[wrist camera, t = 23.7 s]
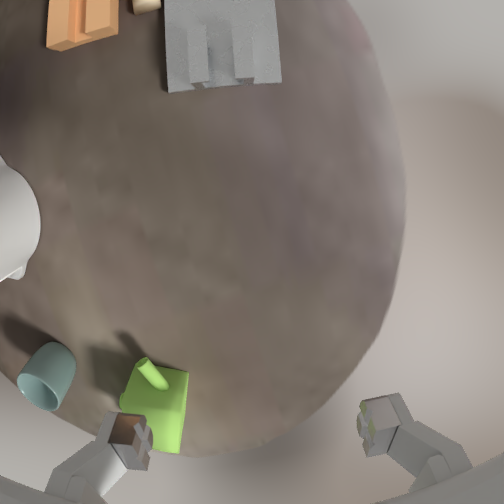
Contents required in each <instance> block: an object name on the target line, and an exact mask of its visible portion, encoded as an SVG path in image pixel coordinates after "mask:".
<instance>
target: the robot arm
mask: <svg viewBox="0 0 504 504" xmlns="http://www.w3.org/2000/svg"><path fill="white" fill-rule="evenodd" d="M39 236H40V214H39V208H38V204H37V201H36V198H35V196H34V193H33V191H32V189H31V187H30V186H29V184H28V183H27V181H26V180H25V179H24V178H23V177H22V176H21V175H20V174H19V173H18V172H17V171H15V170H13V169H12V168H10V167H9V166H7V165H6V163H5V162H4V160H3V159H2V157H1V156H0V282H1V281H2V280H4V279H5V278H12V279H20V278H22V277H23V276H24V274H25V271H26V265H27V261H28V260H29V258H30V257H31V255H32V254H33V253H34V251H35V249H36V247H37V244H38V241H39ZM360 409H361V412H360V413H359V414H358V416H357V429H358V433H359V436H360V437H362V438H363V439H364V441H363V448H364V451H365V454H366V457H372V456H376V455H381V454H385V453H387V455H389V456H390V457H391V458H392V459H394V460H395V461H396V462H397V463H399V464H400V465H401V466H402V467H403V468H405V469H406V470H407V471H408V472H410V473H411V474H412V475H414V476H415V477H416V480H415V481H414V483H413V484H412V486H411V487H410V489H409V493H407V494H404V495H401V496H398V497H395V498H391V499H388V500H384V501H380V502H376V503H372V504H504V452H503V453H501V454H500V455H498V456H496V457H494V458H492V459H490V460H488V461H486V462H484V463H482V464H480V465H478V466H476V467H474V468H473V466H472V464H471V463H470V461H469V459H468V457H467V455H466V453H465V451H464V449H463V447H462V446H461V445H460V444H458V443H456V442H454V441H453V440H451V439H449V438H447V437H445V436H444V435H442V434H440V433H438V432H436V431H435V430H433V429H431V428H429V427H428V426H426V425H424V424H422V423H421V422H419V421H415V422H414V420H413V418H412V416H411V414H410V412H409V410H408V408H407V406H406V404H405V402H404V400H403V398H402V397H401V395H400V394H399V393H395V394H390V395H386V396H381V397H376V398H371V399H366V400H362V401H361V403H360ZM146 423H147V419H146V417H145V415H141V414H130V413H121V412H111V411H108V412H107V413H106V414H105V417H104V419H103V422H102V424H101V427H100V429H99V432H98V435H97V437H96V440H95V441H91V442H90V443H89V444H87V445H86V446H84V447H83V448H82V449H81V450H79V451H78V452H76V453H75V454H74V455H73V456H71V457H70V458H68V459H67V460H66V461H64V462H63V463H61V464H60V465H59V466H57V467H56V468H54V469H53V472H52V474H51V477H50V479H49V482H48V484H47V487H46V489H45V492H42V491H39V490H36V489H33V488H30V487H28V486H25V485H22V484H20V483H17V482H15V481H12V480H10V479H7V478H5V477H3V476H1V475H0V504H108V503H107V502H106V501H105V500H104V499H103V498H102V496H103V495H104V494H105V493H106V492H107V491H108V490H109V489H110V488H111V487H112V486H113V485H114V484H115V483H116V482H117V481H118V480H119V479H120V477H121V476H122V475H123V474H124V473H125V472H126V471H127V469H132V470H144V471H147V470H148V465H149V460H150V457H149V455H148V452H149V451H150V450H151V449H152V447H153V433H152V430H151V428H150V427H149V426H148V425H146Z"/></svg>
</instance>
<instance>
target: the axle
mask: <svg viewBox="0 0 504 504" xmlns="http://www.w3.org/2000/svg"><path fill="white" fill-rule="evenodd" d="M132 2H133V10H134V14H135V15H139V14H143V13H146V12H149V11H152V10H156V9H159V8H161V1H160V0H132Z"/></svg>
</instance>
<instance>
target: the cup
mask: <svg viewBox="0 0 504 504" xmlns="http://www.w3.org/2000/svg"><path fill="white" fill-rule="evenodd" d="M75 372H76V359H75V357H74V355H73V354H72V352H71V351H70V350H69V349H68V348H66V347H65V346H64V345H62V344H60V343H58V342H48V343H46V344H44V345H42V346H41V347H40V348H39V349H38V350H37V351H36V352H35V353H34V354H33V355H32V356H31V358H30V359H29V360H28V362H27V363H26V364H25V366H24V367H23V368H22V370H21V371H20V373H19V375H18V377H17V384H18V387H19V389H20V391H21V393H22V394H23V395H24V396H25V397H26V398H27V399H28V400H29V401H30V402H31V403H33V404H34V405H36V406H37V407H39V408H41V409H43V410H47V411H54V410H56V409H57V408H58V407H59V406H60V405H61V403H62V401H63V399H64V397H65V395H66V393H67V392H68V390H69V388H70V385H71V383H72V381H73V379H74V376H75Z"/></svg>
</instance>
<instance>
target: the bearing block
mask: <svg viewBox="0 0 504 504" xmlns="http://www.w3.org/2000/svg"><path fill="white" fill-rule="evenodd" d="M164 7H165V40H166V62H167V79H168V93H170V94H175V93H182V92H189V91H197V90H206V89H215V88H226V87H238V86H253V85H275V84H281V83H282V79H281V67H280V55H279V43H278V32H277V22H276V12H275V2H274V0H164Z"/></svg>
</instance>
